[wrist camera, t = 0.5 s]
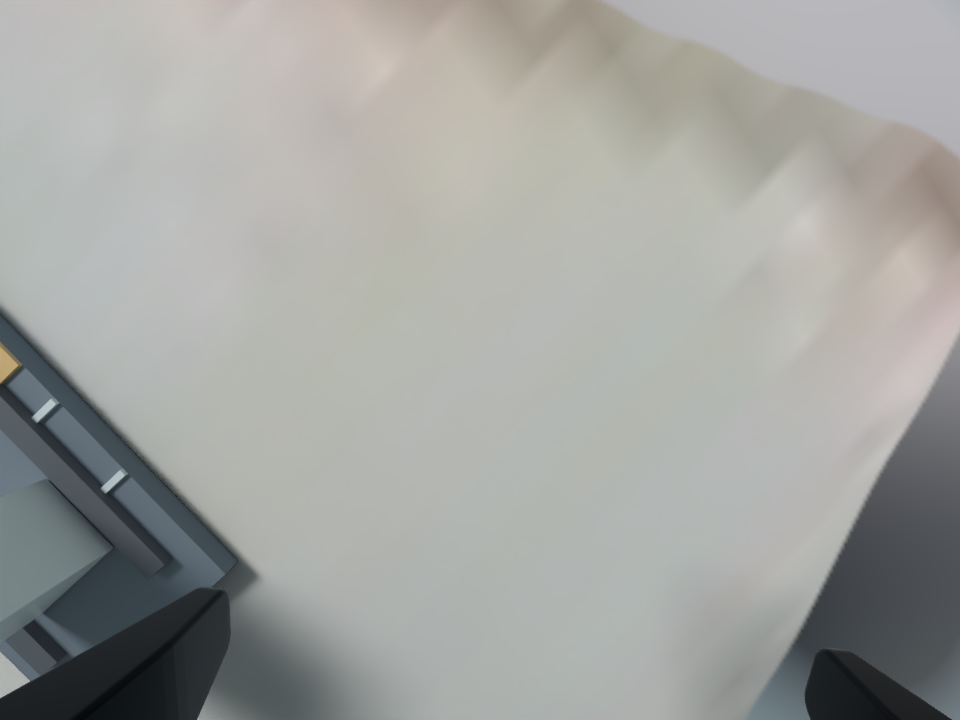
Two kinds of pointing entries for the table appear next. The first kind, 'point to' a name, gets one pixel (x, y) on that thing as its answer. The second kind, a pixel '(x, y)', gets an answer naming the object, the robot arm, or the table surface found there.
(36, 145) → the table surface
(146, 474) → the fader track base
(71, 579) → the fader cap
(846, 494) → the table surface
